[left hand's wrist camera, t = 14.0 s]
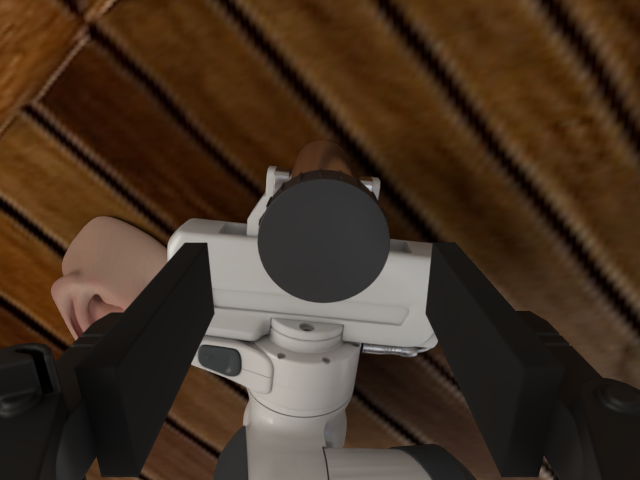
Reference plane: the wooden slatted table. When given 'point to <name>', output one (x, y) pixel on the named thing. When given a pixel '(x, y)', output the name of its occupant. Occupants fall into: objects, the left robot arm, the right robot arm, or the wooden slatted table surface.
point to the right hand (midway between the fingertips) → (323, 172)
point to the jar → (322, 159)
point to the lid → (323, 236)
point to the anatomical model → (105, 271)
